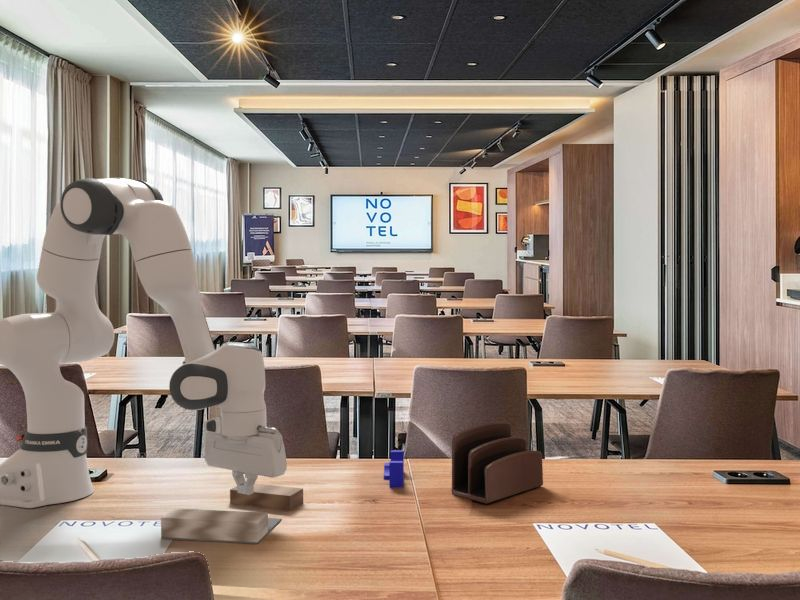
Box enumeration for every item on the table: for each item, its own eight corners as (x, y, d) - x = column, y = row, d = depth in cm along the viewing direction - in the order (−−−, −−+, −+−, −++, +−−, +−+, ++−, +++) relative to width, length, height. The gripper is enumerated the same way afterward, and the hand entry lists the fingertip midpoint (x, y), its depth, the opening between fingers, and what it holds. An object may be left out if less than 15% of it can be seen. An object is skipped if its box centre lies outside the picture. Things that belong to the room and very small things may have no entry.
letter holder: (450, 495, 157) (450, 429, 156) (508, 477, 170) (508, 417, 170) (486, 505, 150) (486, 436, 149) (543, 486, 163) (543, 423, 163)
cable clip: (384, 475, 173) (384, 450, 173) (403, 475, 173) (403, 450, 173) (382, 489, 161) (382, 462, 161) (403, 489, 161) (402, 462, 161)
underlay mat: (161, 538, 130) (161, 537, 130) (193, 515, 143) (193, 514, 143) (257, 543, 127) (257, 542, 127) (281, 520, 140) (281, 518, 140)
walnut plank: (230, 506, 150) (229, 489, 150) (244, 498, 155) (244, 482, 155) (290, 513, 145) (290, 495, 145) (303, 505, 151) (303, 488, 151)
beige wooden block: (161, 537, 130) (160, 517, 130) (175, 527, 135) (175, 508, 135) (257, 542, 127) (257, 522, 127) (267, 531, 133) (267, 512, 132)
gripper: (293, 426, 141) (294, 497, 141) (222, 417, 153) (223, 482, 153) (269, 431, 136) (271, 505, 136) (197, 422, 148) (199, 489, 148)
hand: (245, 493), depth 145 cm, fingers closed
